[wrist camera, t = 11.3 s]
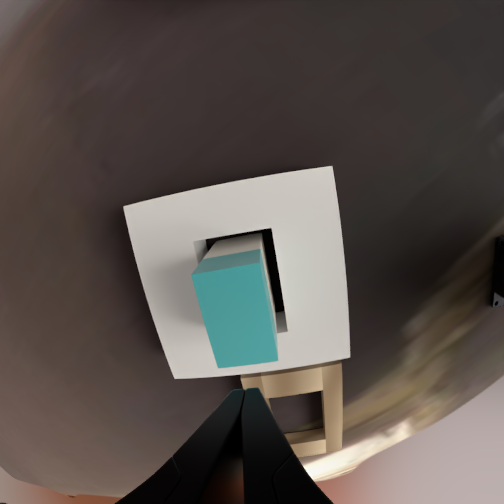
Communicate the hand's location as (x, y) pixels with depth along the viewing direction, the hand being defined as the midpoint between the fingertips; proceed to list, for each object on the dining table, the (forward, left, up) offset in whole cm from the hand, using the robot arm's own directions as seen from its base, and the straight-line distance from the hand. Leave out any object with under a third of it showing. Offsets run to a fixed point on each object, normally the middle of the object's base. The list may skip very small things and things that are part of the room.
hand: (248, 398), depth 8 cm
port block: (+1, 0, -12) cm, 12 cm away
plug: (+1, 0, -12) cm, 12 cm away
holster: (-1, +13, -12) cm, 17 cm away
